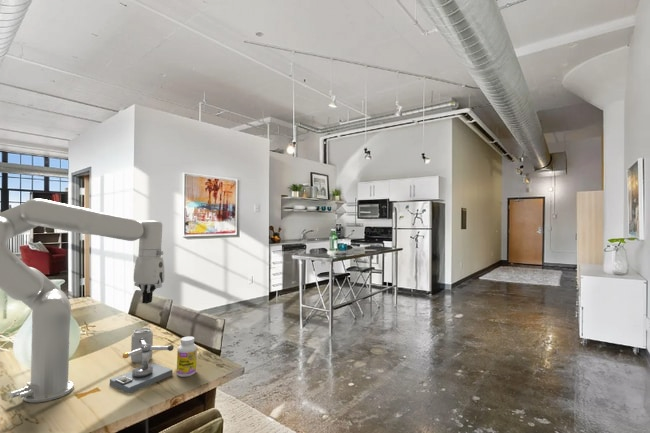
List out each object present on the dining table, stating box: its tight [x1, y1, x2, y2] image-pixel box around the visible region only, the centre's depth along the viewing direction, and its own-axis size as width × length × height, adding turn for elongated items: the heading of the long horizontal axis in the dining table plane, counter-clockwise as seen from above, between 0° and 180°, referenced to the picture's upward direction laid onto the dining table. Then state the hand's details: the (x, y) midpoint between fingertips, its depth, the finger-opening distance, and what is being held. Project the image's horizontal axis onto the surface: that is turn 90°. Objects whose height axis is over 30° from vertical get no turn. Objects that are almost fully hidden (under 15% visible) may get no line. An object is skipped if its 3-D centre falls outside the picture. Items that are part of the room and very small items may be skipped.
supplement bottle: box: [176, 335, 198, 378], centre depth 127 cm, size 7×7×13 cm
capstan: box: [122, 338, 175, 378], centre depth 121 cm, size 14×17×10 cm
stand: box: [109, 362, 173, 395], centre depth 121 cm, size 16×11×4 cm
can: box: [130, 327, 154, 364], centre depth 138 cm, size 8×8×12 cm
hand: (147, 302), depth 129 cm, fingers closed
